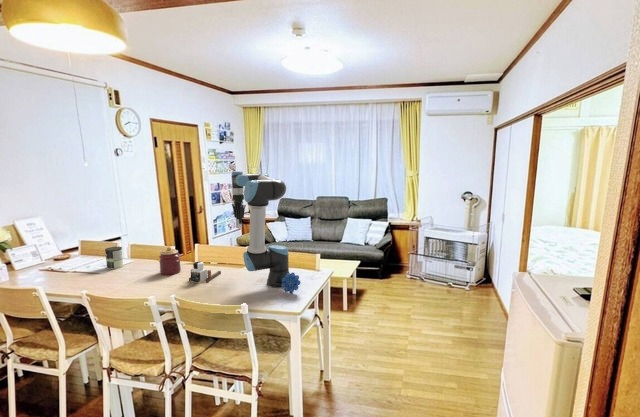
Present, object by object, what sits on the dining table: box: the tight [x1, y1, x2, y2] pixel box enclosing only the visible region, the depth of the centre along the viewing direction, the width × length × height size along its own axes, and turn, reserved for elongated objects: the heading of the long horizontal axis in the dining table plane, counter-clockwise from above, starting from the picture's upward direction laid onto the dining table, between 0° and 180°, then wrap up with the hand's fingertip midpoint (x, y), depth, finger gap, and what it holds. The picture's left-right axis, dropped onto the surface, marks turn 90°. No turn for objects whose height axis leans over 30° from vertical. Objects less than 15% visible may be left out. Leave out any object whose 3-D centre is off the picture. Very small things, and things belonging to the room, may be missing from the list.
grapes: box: [280, 272, 301, 294], centre depth 189 cm, size 12×7×12 cm, turn 74°
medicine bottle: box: [190, 261, 208, 284], centre depth 209 cm, size 7×7×12 cm
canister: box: [158, 246, 182, 276], centre depth 226 cm, size 13×13×18 cm
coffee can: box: [104, 246, 124, 270], centre depth 238 cm, size 10×10×14 cm
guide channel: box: [188, 268, 222, 283], centre depth 215 cm, size 17×14×6 cm
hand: (239, 228), depth 229 cm, fingers closed
